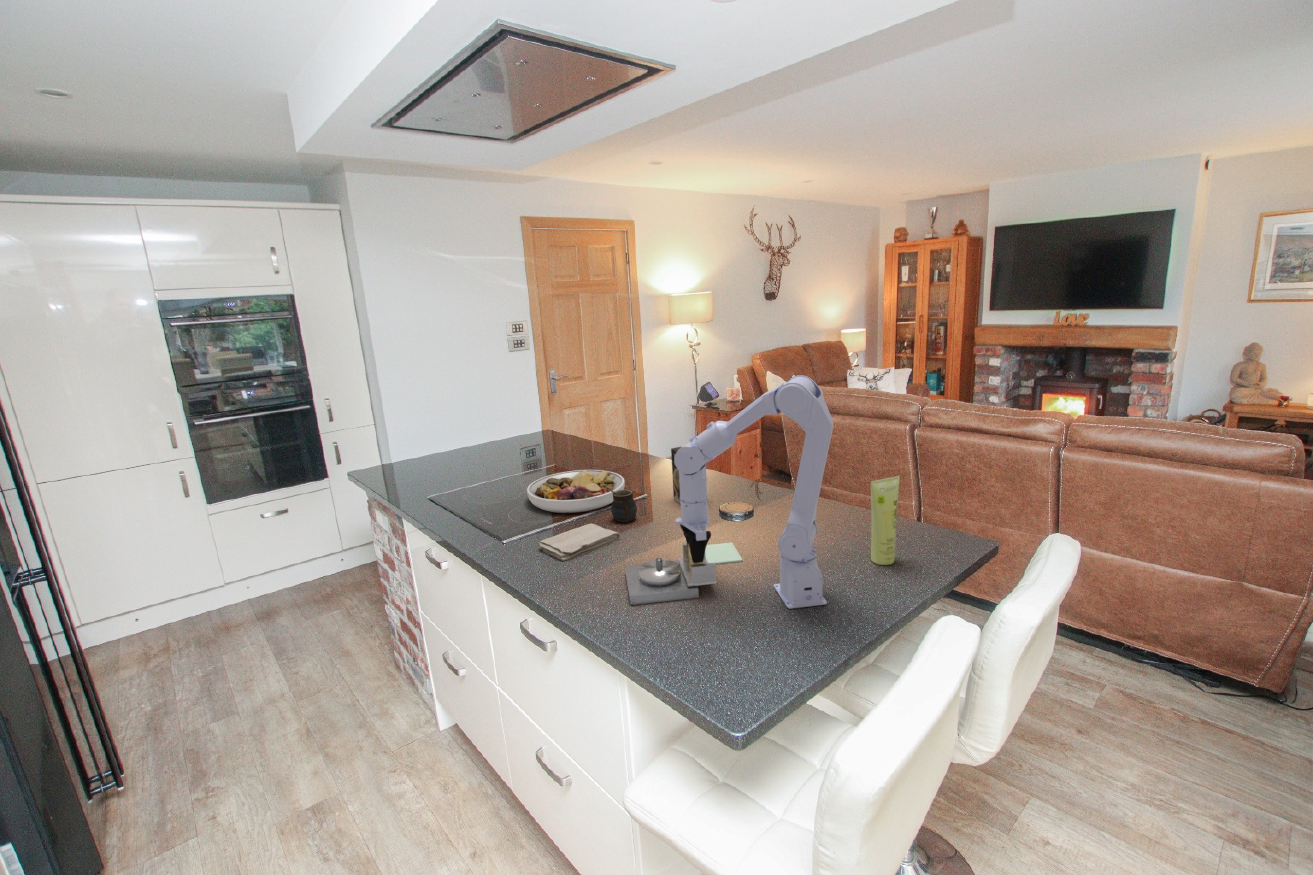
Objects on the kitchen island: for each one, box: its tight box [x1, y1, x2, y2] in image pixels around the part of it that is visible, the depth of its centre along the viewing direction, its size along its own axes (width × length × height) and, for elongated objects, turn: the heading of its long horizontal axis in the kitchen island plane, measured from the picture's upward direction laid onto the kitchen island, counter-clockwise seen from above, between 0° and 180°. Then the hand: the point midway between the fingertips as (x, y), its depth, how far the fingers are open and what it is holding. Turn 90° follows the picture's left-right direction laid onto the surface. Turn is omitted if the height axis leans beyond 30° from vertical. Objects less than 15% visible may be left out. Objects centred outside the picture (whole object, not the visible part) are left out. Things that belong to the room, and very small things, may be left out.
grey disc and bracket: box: [639, 542, 717, 587], centre depth 128 cm, size 16×12×4 cm
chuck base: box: [624, 560, 700, 606], centre depth 128 cm, size 14×14×2 cm
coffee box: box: [670, 446, 682, 504], centre depth 175 cm, size 9×6×16 cm
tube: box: [870, 475, 901, 566], centre depth 131 cm, size 6×5×20 cm
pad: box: [705, 542, 744, 565], centre depth 142 cm, size 10×10×1 cm
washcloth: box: [539, 523, 621, 562], centre depth 152 cm, size 12×18×3 cm, turn 134°
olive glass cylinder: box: [688, 544, 703, 569], centre depth 128 cm, size 3×3×6 cm
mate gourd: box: [608, 488, 638, 523], centre depth 165 cm, size 7×8×10 cm
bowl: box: [526, 469, 626, 514], centre depth 185 cm, size 30×30×8 cm
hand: (696, 558), depth 129 cm, fingers closed on olive glass cylinder, 3 cm apart
